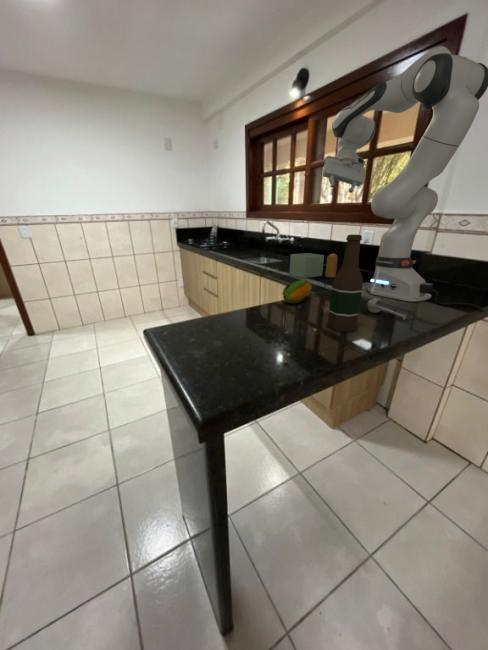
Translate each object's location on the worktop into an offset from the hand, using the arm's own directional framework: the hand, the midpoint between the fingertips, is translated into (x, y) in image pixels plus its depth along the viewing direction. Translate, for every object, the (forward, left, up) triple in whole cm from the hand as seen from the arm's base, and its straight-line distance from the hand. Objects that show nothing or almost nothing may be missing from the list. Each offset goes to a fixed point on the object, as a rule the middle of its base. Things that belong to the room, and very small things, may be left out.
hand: (341, 189), depth 121 cm
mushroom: (-51, +29, -41) cm, 72 cm away
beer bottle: (-52, +49, -41) cm, 83 cm away
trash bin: (+13, +6, -41) cm, 44 cm away
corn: (-25, +42, -41) cm, 64 cm away
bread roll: (+3, -3, -41) cm, 41 cm away
